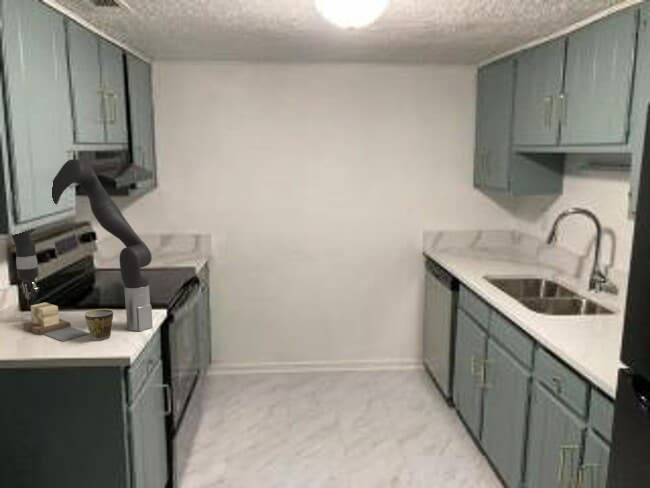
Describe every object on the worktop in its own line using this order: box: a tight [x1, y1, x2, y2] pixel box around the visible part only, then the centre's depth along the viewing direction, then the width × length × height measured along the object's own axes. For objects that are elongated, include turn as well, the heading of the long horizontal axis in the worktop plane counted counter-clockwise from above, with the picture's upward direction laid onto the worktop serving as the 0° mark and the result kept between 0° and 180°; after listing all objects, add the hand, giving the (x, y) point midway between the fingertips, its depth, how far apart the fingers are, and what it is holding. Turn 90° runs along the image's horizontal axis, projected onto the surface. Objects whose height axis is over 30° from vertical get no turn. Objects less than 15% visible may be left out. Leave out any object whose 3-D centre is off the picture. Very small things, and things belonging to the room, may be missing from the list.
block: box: [29, 301, 60, 327], centre depth 221 cm, size 10×6×7 cm, turn 53°
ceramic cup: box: [84, 308, 114, 342], centre depth 207 cm, size 13×10×10 cm
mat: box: [43, 326, 90, 342], centre depth 214 cm, size 14×11×1 cm
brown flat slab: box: [22, 318, 72, 336], centre depth 221 cm, size 14×12×2 cm
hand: (31, 307), depth 228 cm, fingers closed
